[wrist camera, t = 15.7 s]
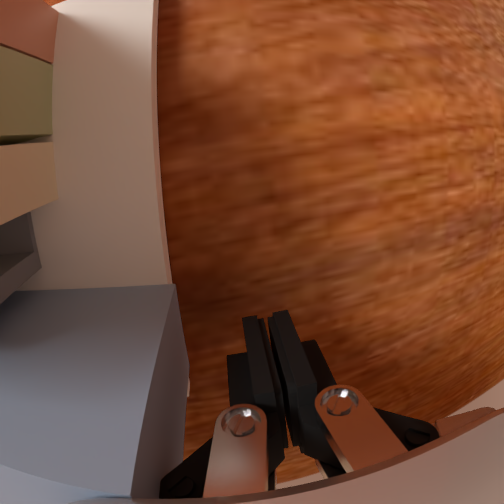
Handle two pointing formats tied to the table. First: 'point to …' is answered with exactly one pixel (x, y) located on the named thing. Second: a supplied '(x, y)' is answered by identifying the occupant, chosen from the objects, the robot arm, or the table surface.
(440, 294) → the table surface
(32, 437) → the grey block
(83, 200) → the shelf
